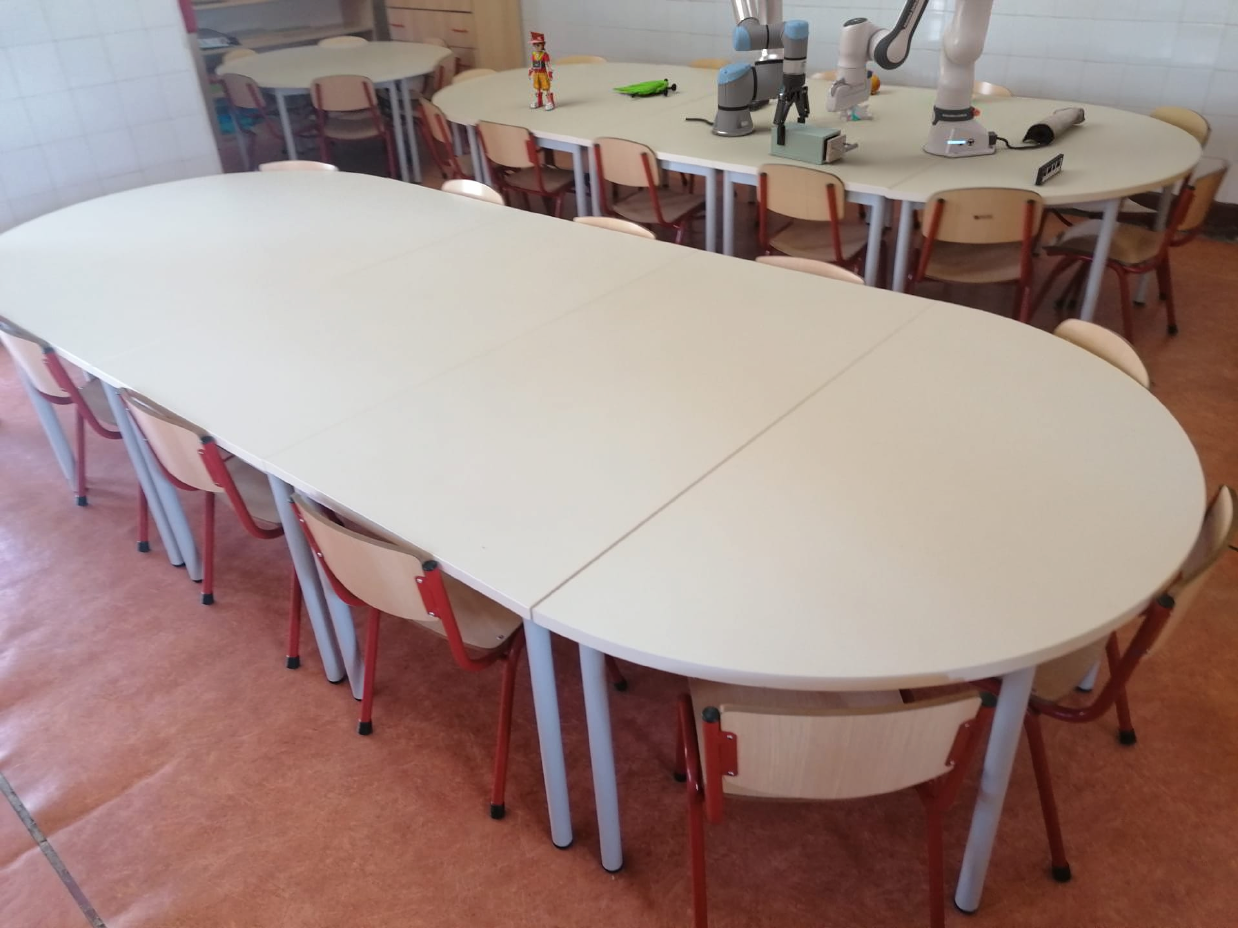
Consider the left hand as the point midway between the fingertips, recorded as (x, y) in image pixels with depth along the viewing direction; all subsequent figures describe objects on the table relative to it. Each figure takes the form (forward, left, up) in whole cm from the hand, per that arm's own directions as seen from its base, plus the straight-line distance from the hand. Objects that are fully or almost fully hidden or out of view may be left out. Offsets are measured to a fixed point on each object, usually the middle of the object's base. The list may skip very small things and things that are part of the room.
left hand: (790, 141), depth 308 cm
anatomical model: (+5, +54, -4) cm, 54 cm away
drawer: (+12, -3, -3) cm, 12 cm away
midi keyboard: (+83, +2, -4) cm, 83 cm away
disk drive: (-39, +56, -4) cm, 68 cm away
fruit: (-1, +91, -4) cm, 91 cm away
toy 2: (-95, +64, -4) cm, 115 cm away
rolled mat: (+77, +52, -4) cm, 93 cm away
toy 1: (-122, +26, -4) cm, 125 cm away
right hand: (+21, -5, +10) cm, 23 cm away
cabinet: (+6, -1, -4) cm, 7 cm away
